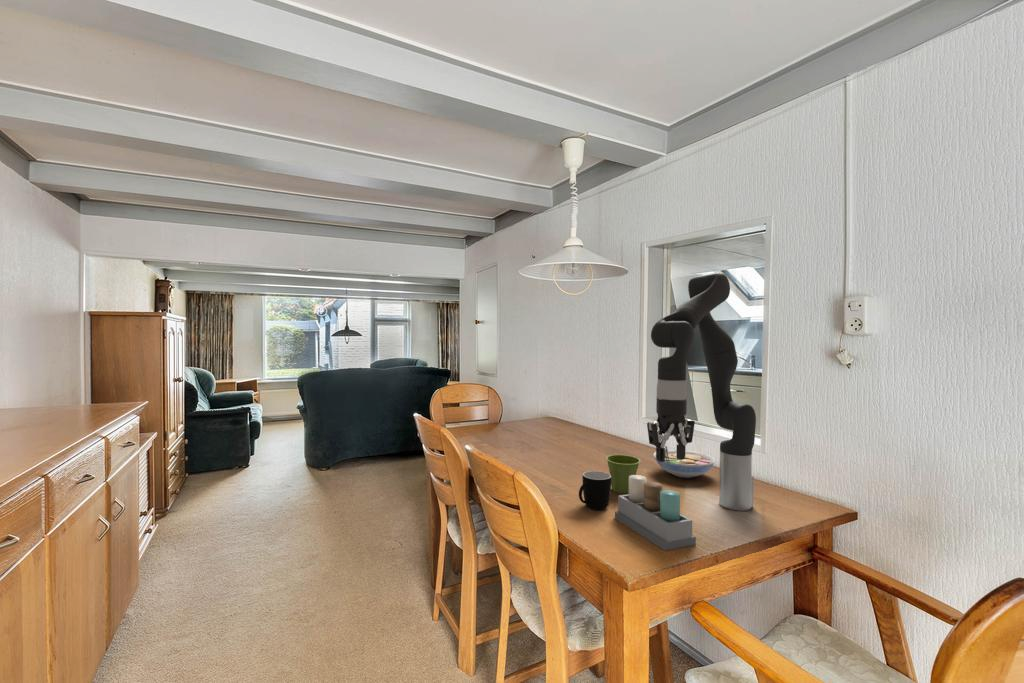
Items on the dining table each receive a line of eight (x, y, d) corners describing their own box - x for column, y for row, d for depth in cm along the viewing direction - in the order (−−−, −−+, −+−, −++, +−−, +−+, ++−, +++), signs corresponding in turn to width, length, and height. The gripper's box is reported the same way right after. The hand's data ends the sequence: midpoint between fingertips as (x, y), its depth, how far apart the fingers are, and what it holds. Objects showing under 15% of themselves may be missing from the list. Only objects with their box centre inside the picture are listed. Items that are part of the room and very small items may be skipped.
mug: (596, 499, 149) (596, 469, 149) (616, 508, 142) (617, 476, 142) (569, 507, 142) (569, 475, 142) (589, 516, 135) (590, 483, 135)
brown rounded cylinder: (654, 503, 129) (654, 481, 129) (666, 510, 125) (666, 486, 125) (639, 506, 127) (640, 483, 127) (651, 512, 123) (651, 488, 123)
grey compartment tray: (642, 513, 138) (642, 492, 138) (695, 544, 118) (696, 519, 118) (614, 517, 135) (615, 496, 134) (664, 550, 114) (664, 525, 114)
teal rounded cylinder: (671, 512, 123) (671, 489, 123) (684, 519, 118) (684, 495, 118) (656, 515, 121) (656, 491, 121) (668, 522, 116) (669, 497, 116)
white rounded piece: (639, 495, 136) (639, 474, 136) (649, 501, 131) (650, 479, 131) (625, 497, 134) (625, 475, 134) (635, 503, 129) (635, 481, 129)
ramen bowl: (720, 488, 161) (720, 465, 161) (653, 482, 168) (653, 460, 168) (710, 469, 185) (710, 449, 185) (652, 464, 192) (652, 445, 192)
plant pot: (603, 494, 154) (603, 461, 154) (607, 483, 166) (607, 453, 165) (639, 498, 151) (639, 465, 150) (641, 487, 162) (641, 456, 162)
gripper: (683, 393, 125) (682, 454, 125) (639, 396, 120) (639, 459, 120) (703, 397, 118) (702, 461, 118) (658, 399, 113) (657, 466, 113)
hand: (670, 460), depth 119 cm, fingers open, 5 cm apart
